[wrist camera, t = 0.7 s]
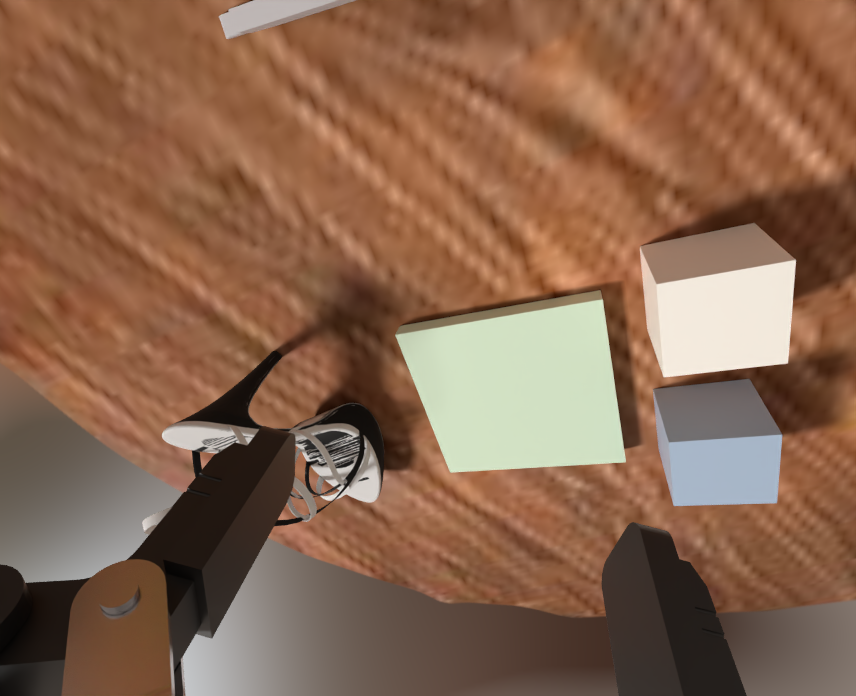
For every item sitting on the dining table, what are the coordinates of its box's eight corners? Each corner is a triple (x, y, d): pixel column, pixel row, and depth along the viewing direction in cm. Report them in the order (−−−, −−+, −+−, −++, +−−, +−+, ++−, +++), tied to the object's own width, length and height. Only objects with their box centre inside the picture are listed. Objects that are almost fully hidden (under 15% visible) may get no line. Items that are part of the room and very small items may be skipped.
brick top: (748, 377, 28) (782, 434, 24) (747, 442, 31) (776, 503, 27) (652, 388, 30) (668, 442, 26) (658, 448, 33) (673, 506, 29)
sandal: (400, 477, 40) (335, 666, 28) (307, 474, 43) (212, 646, 31) (351, 327, 33) (233, 498, 21) (242, 335, 35) (80, 491, 23)
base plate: (600, 290, 27) (602, 299, 26) (623, 449, 33) (625, 462, 32) (400, 325, 32) (395, 335, 31) (452, 461, 38) (450, 472, 37)
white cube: (753, 222, 24) (796, 259, 20) (750, 313, 26) (787, 363, 22) (639, 245, 26) (656, 284, 22) (647, 328, 28) (663, 377, 24)
